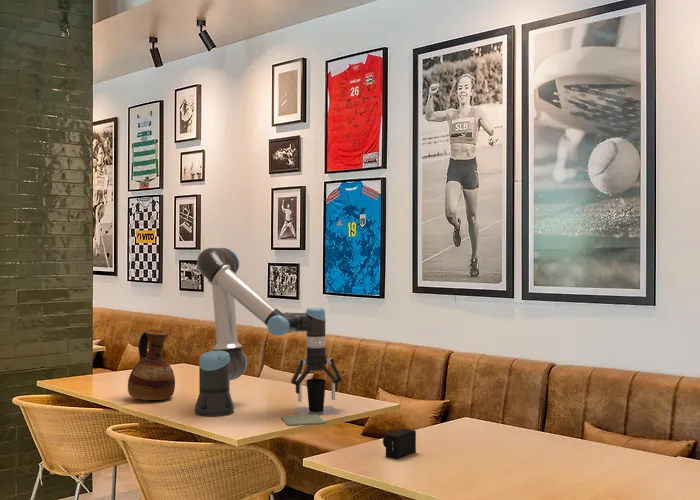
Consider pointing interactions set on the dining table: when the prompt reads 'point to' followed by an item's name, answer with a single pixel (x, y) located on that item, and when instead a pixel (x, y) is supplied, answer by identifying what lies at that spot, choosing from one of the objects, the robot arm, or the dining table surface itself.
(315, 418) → the mat
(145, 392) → the ceramic pitcher
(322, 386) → the cup
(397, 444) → the digital camera
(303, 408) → the tile
